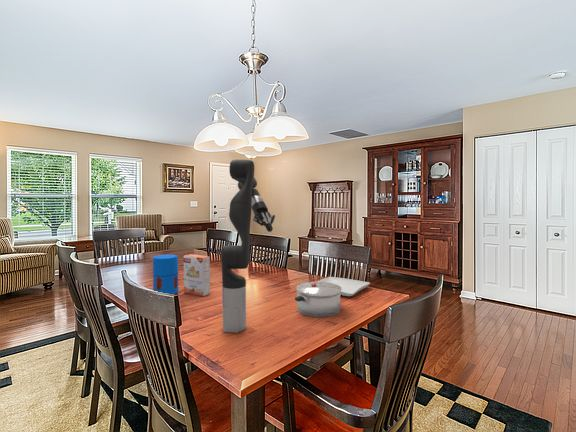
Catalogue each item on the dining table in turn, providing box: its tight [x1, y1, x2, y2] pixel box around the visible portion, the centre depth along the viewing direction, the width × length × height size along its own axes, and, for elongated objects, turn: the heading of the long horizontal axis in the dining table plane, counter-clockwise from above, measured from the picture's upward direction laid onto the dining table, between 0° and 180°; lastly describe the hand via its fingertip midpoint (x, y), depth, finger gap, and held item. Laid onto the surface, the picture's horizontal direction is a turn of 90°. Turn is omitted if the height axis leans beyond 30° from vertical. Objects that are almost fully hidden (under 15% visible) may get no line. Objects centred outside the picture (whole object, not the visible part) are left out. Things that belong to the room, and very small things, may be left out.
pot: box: [294, 291, 341, 318], centre depth 148 cm, size 20×26×9 cm
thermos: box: [152, 254, 180, 297], centre depth 146 cm, size 11×11×25 cm
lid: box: [296, 281, 342, 297], centre depth 148 cm, size 22×21×2 cm
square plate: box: [316, 276, 371, 297], centre depth 181 cm, size 27×27×4 cm
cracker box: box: [183, 253, 211, 297], centre depth 172 cm, size 14×6×21 cm, turn 62°
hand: (270, 230), depth 157 cm, fingers closed
